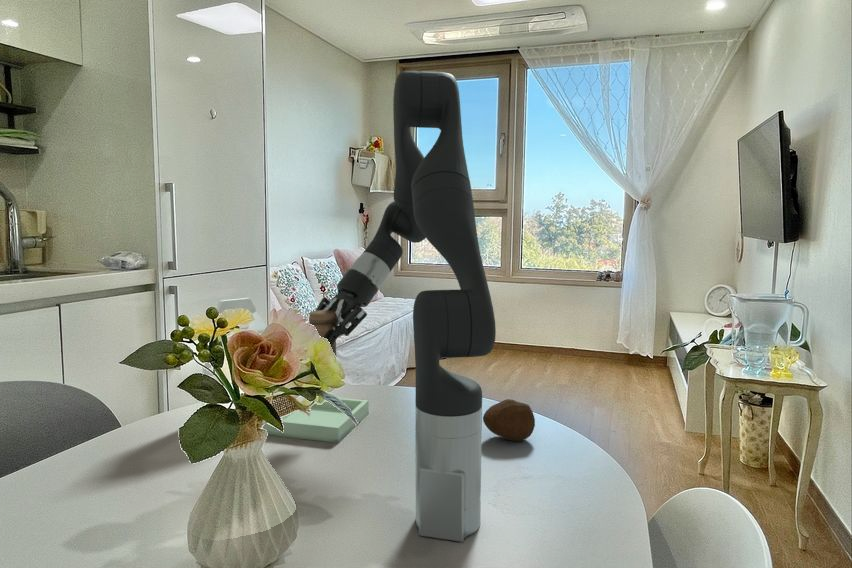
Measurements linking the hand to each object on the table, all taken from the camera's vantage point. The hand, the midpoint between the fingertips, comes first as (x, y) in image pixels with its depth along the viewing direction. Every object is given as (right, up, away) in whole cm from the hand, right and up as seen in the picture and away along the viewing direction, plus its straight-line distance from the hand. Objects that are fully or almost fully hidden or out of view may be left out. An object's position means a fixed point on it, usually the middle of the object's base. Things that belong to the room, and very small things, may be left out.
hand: (315, 345), depth 108 cm
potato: (+38, -18, -1) cm, 42 cm away
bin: (-1, -17, +7) cm, 18 cm away
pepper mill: (+1, -4, +2) cm, 5 cm away
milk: (-17, -17, +8) cm, 26 cm away
